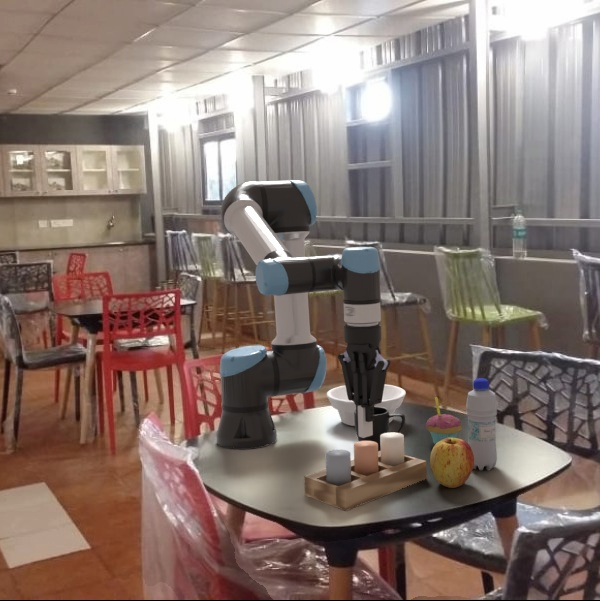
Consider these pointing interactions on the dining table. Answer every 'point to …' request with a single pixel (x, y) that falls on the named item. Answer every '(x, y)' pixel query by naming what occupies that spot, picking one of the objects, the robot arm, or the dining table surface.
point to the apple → (452, 462)
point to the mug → (379, 424)
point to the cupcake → (443, 425)
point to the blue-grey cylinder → (338, 467)
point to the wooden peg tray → (365, 483)
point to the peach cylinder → (366, 457)
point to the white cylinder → (392, 448)
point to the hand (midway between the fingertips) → (365, 435)
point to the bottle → (482, 424)
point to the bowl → (347, 407)
